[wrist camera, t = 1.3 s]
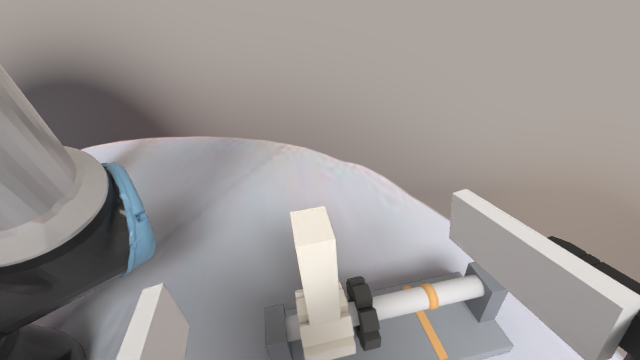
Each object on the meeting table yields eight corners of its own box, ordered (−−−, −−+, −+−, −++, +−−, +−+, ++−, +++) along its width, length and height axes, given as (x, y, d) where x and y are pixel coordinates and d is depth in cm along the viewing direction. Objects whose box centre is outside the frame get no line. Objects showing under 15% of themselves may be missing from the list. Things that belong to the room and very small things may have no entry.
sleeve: (309, 377, 29) (283, 266, 19) (300, 313, 34) (277, 203, 25) (355, 365, 29) (354, 251, 19) (339, 304, 35) (332, 193, 25)
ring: (364, 362, 29) (366, 327, 25) (347, 303, 35) (345, 267, 31) (379, 359, 29) (382, 323, 25) (359, 300, 35) (359, 264, 31)
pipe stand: (280, 412, 28) (266, 381, 24) (275, 319, 37) (264, 284, 32) (509, 351, 31) (532, 315, 27) (456, 278, 39) (468, 241, 35)
